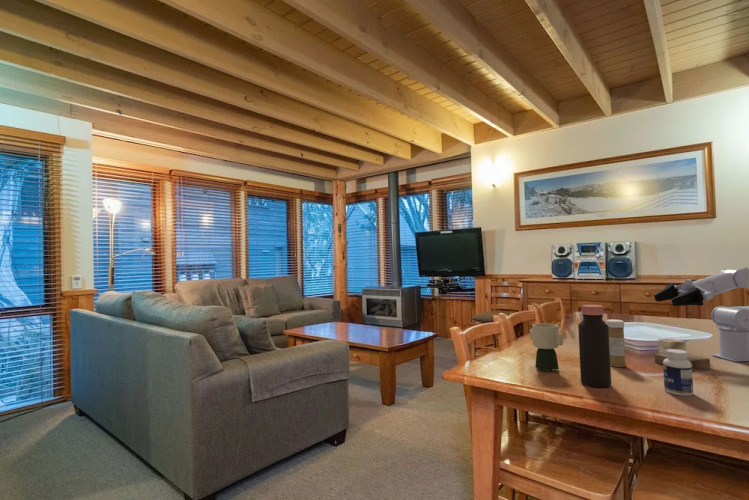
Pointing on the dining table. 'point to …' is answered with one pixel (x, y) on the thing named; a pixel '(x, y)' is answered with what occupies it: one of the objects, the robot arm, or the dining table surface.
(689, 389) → the pill bottle
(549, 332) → the character mug
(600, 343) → the vinegar
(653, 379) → the dining table surface
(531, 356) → the dining table surface
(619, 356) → the sprinkles bottle
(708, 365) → the walnut block
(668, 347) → the maple cube
